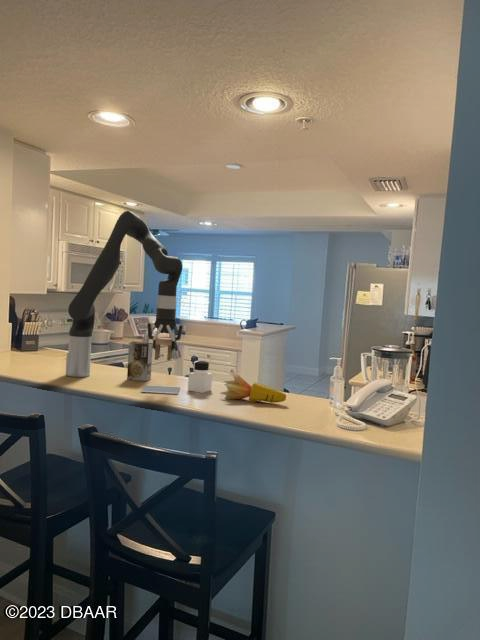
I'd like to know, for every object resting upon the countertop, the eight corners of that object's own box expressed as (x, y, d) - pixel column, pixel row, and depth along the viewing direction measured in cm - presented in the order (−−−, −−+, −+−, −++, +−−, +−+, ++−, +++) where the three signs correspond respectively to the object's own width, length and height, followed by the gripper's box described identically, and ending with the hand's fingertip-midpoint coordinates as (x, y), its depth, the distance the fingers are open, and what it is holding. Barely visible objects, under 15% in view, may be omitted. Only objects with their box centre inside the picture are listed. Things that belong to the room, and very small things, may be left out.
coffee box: (151, 378, 201) (153, 342, 200) (146, 381, 195) (149, 344, 194) (131, 376, 202) (133, 340, 201) (126, 379, 195) (128, 342, 194)
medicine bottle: (211, 390, 186) (213, 361, 185) (202, 393, 179) (204, 363, 178) (196, 387, 189) (198, 359, 188) (187, 390, 182) (189, 361, 181)
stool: (156, 357, 181) (157, 337, 181) (171, 358, 182) (172, 338, 181) (154, 359, 175) (155, 339, 175) (170, 360, 176) (171, 340, 175)
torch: (282, 415, 168) (218, 399, 173) (286, 402, 175) (224, 386, 180) (284, 399, 164) (219, 382, 169) (289, 385, 170) (225, 370, 175)
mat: (140, 392, 173) (140, 391, 172) (145, 386, 184) (145, 384, 184) (177, 394, 173) (177, 393, 173) (180, 388, 185) (180, 387, 185)
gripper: (185, 308, 181) (182, 350, 182) (149, 305, 181) (146, 347, 181) (184, 309, 174) (181, 352, 175) (146, 306, 173) (143, 350, 174)
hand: (163, 349), depth 178 cm, fingers closed on stool, 6 cm apart
